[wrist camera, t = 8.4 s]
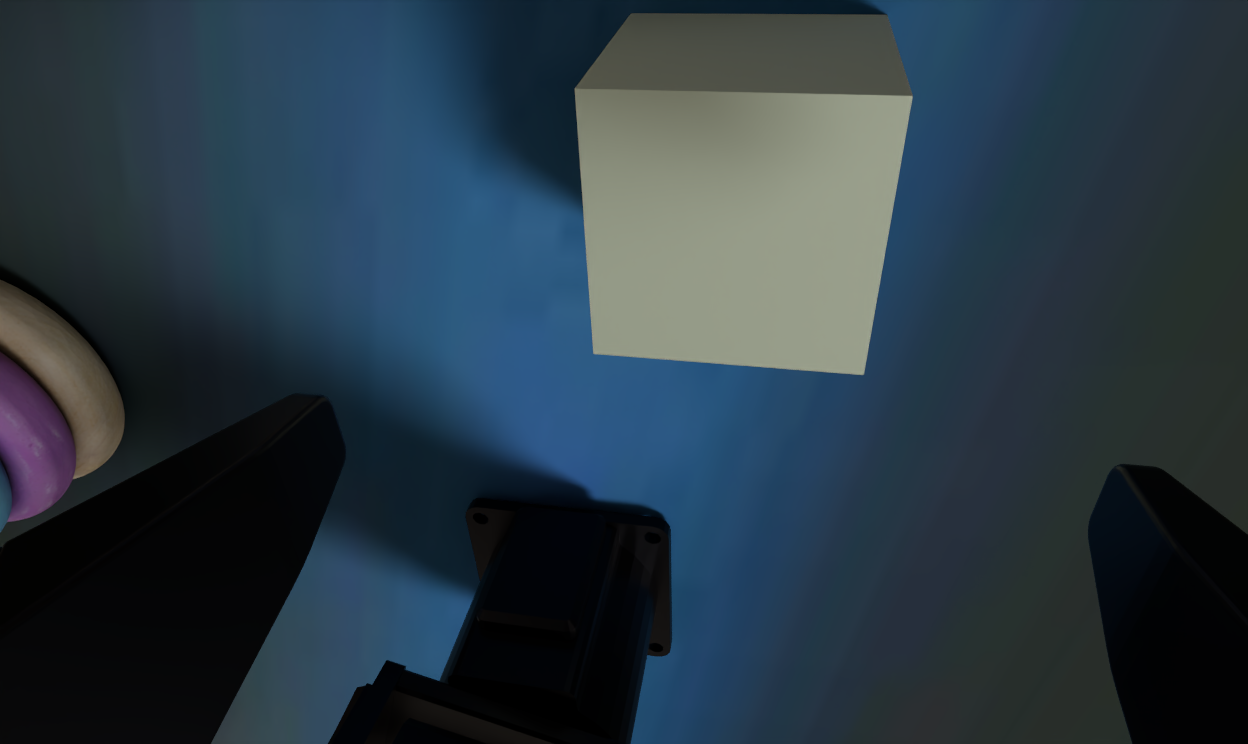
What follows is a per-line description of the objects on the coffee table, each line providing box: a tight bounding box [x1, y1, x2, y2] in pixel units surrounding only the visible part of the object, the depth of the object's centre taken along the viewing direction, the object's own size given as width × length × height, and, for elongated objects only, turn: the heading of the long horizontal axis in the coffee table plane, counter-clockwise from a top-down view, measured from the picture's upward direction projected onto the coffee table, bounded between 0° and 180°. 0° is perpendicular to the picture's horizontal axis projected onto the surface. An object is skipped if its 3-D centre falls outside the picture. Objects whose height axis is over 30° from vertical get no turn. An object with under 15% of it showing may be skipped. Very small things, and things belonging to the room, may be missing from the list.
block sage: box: [575, 13, 913, 375], centre depth 15 cm, size 5×5×5 cm
